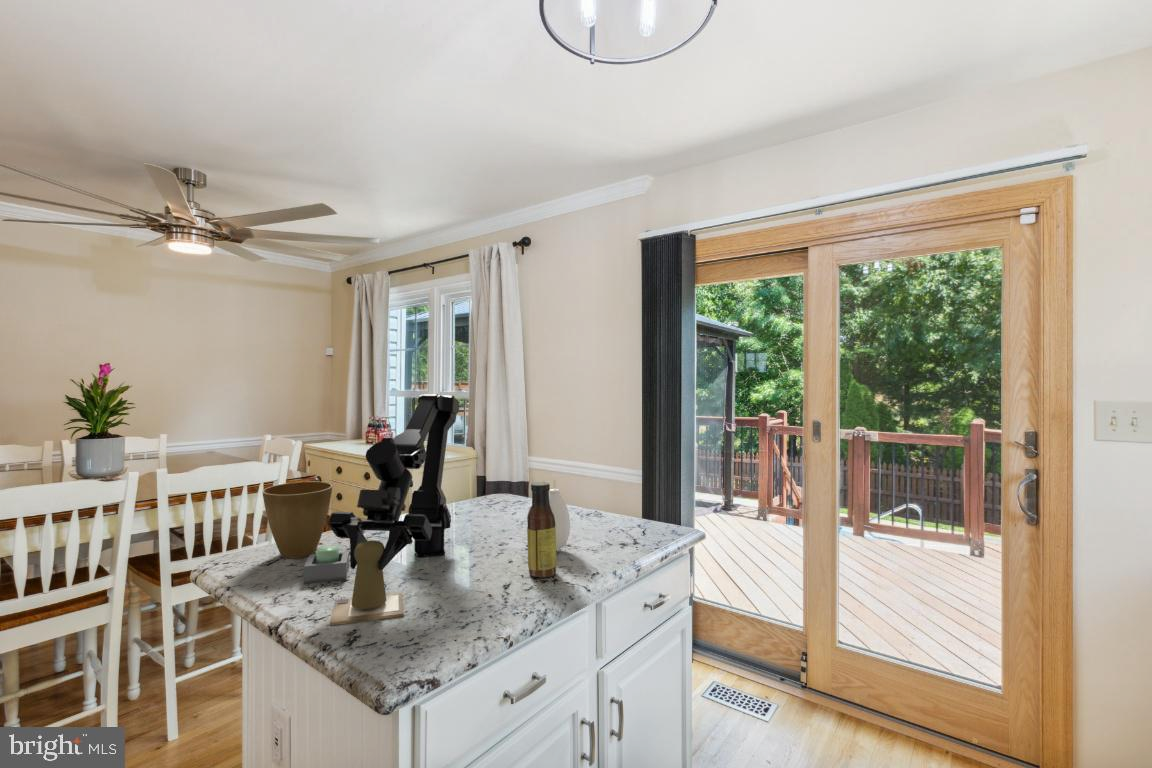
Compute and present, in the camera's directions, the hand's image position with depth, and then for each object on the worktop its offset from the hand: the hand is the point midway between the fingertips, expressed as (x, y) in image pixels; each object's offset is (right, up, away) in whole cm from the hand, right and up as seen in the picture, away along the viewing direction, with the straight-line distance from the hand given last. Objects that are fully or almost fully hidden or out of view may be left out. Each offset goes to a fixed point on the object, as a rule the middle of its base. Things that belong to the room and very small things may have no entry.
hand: (366, 568), depth 97 cm
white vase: (+32, -8, +36) cm, 49 cm away
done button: (-15, -5, +18) cm, 24 cm away
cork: (0, -7, +1) cm, 7 cm away
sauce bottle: (+30, -8, +20) cm, 37 cm away
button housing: (-15, -8, +18) cm, 25 cm away
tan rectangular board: (0, -8, +1) cm, 8 cm away
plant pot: (-29, -7, +31) cm, 43 cm away
